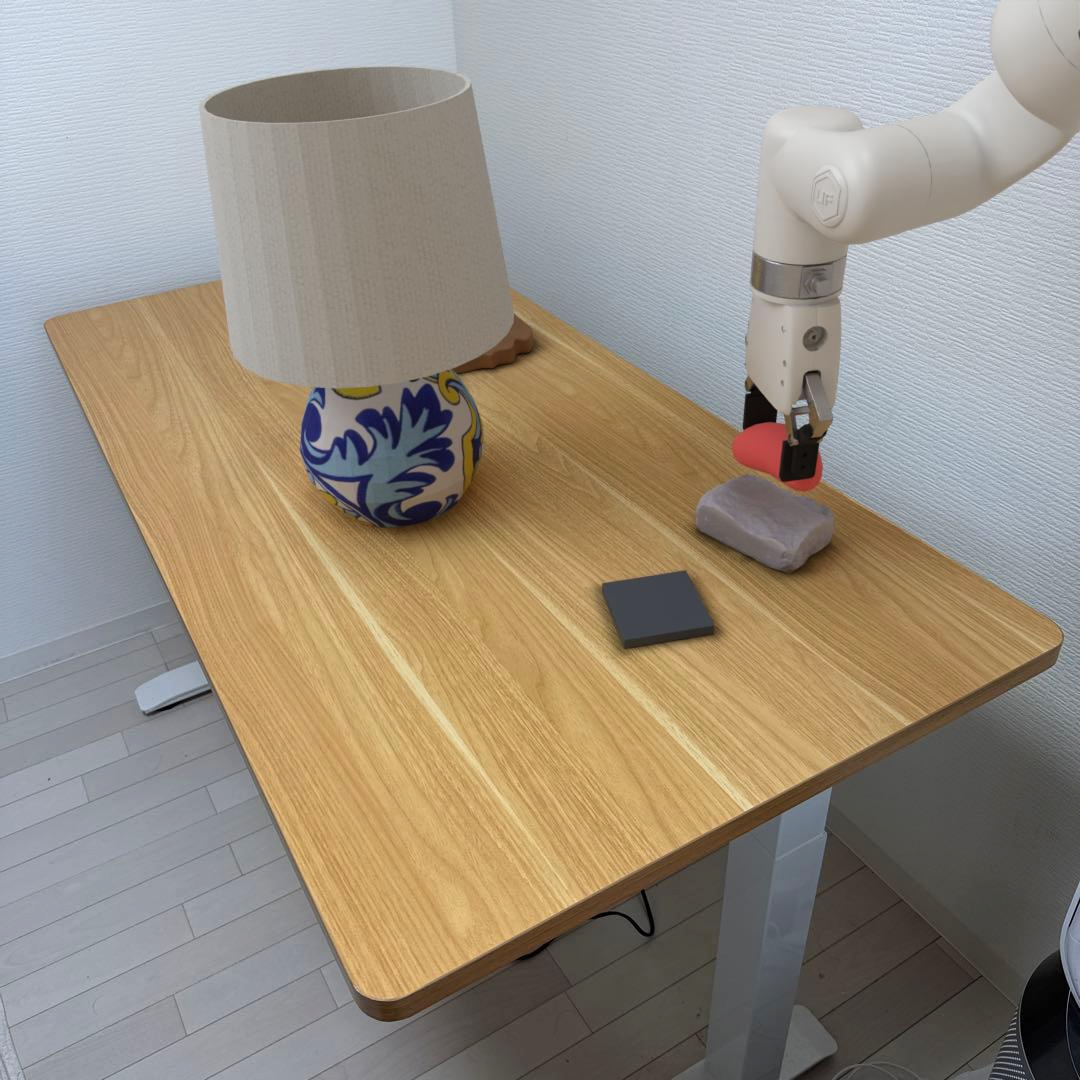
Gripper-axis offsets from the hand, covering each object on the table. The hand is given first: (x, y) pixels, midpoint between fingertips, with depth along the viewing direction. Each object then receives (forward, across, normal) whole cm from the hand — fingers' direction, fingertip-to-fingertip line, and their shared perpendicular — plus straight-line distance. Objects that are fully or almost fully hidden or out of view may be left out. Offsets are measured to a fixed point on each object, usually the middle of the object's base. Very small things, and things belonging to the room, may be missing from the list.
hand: (776, 452), depth 89 cm
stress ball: (+3, 0, 0) cm, 3 cm away
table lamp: (+9, +17, +35) cm, 40 cm away
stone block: (+9, 0, 0) cm, 9 cm away
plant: (+9, +53, +25) cm, 59 cm away
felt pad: (+9, -9, +14) cm, 19 cm away
